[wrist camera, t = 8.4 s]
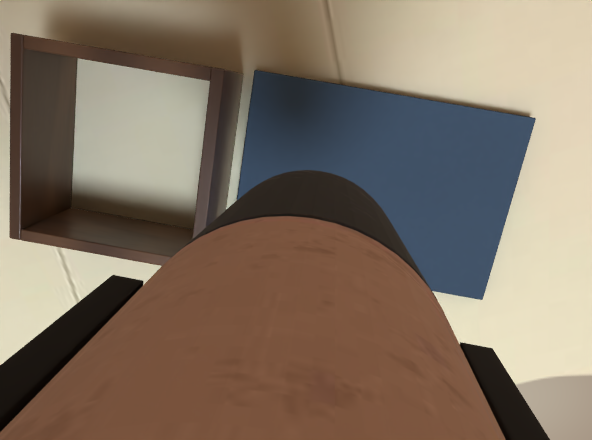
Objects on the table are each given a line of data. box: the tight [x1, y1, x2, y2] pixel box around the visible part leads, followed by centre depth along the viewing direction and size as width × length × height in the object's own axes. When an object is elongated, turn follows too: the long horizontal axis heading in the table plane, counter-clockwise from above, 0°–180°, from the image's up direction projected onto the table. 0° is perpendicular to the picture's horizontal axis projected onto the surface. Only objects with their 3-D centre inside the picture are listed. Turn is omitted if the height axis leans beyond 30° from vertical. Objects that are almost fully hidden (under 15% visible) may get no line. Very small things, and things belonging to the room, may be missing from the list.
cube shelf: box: [10, 33, 243, 266], centre depth 33 cm, size 13×13×6 cm
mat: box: [237, 70, 536, 300], centre depth 36 cm, size 20×14×1 cm
